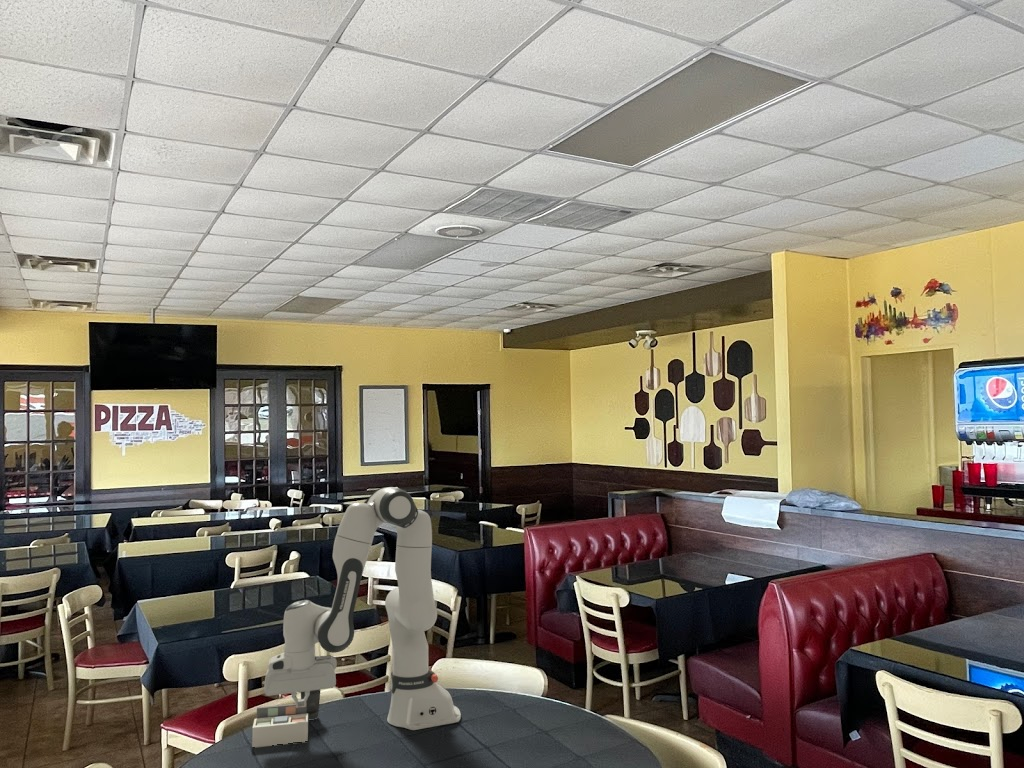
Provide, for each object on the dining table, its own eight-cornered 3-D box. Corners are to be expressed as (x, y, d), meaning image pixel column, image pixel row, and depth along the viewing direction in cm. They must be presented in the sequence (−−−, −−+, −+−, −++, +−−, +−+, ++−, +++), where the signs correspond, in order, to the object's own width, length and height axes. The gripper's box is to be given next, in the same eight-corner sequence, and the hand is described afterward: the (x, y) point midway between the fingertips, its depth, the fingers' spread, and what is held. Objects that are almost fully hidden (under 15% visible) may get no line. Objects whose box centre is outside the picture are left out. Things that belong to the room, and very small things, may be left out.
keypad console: (308, 730, 226) (308, 702, 226) (307, 741, 217) (307, 713, 218) (255, 735, 222) (255, 707, 223) (252, 747, 214) (252, 718, 214)
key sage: (270, 728, 220) (270, 721, 220) (269, 733, 217) (269, 726, 217) (257, 729, 219) (257, 722, 219) (256, 734, 216) (256, 727, 216)
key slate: (287, 722, 221) (287, 715, 221) (287, 727, 218) (287, 720, 218) (274, 724, 220) (274, 717, 220) (273, 728, 217) (274, 721, 217)
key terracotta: (304, 725, 222) (304, 718, 222) (304, 729, 219) (304, 722, 219) (291, 726, 221) (291, 719, 222) (291, 731, 218) (291, 724, 218)
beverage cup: (315, 723, 231) (316, 656, 232) (293, 721, 232) (294, 655, 234) (326, 714, 238) (326, 649, 239) (304, 713, 240) (305, 648, 241)
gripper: (336, 651, 227) (337, 698, 226) (264, 659, 222) (265, 707, 221) (336, 657, 221) (337, 705, 220) (262, 665, 216) (264, 715, 215)
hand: (301, 706), depth 221 cm, fingers closed
